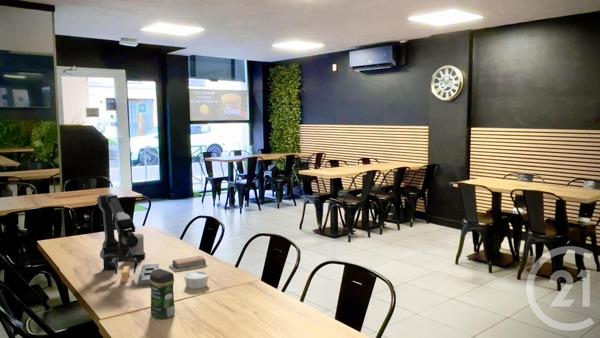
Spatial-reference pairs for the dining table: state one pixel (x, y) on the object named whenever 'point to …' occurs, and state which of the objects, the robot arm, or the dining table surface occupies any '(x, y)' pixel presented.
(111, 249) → the robot arm
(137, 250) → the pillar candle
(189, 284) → the ramekin
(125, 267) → the long orange beam
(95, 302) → the dining table surface
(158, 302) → the coffee jar
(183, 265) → the packaged product
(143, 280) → the grey slotted plate
